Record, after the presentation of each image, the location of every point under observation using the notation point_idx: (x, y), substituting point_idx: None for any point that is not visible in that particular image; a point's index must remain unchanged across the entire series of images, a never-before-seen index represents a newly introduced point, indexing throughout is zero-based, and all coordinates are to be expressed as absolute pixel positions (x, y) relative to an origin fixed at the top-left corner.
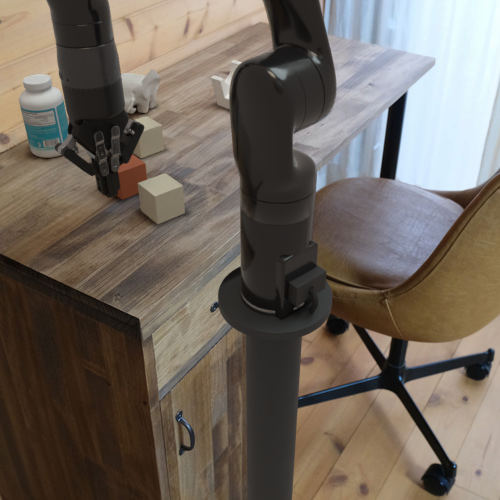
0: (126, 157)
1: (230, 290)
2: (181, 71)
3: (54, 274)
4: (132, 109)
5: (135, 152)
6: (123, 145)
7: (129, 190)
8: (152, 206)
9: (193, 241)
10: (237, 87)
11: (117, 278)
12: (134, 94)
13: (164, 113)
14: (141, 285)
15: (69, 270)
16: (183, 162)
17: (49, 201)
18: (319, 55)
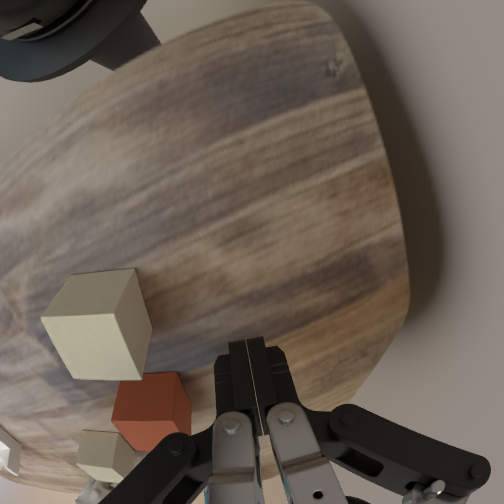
0: (172, 455)
1: (106, 11)
2: (62, 487)
3: (393, 215)
4: (114, 486)
5: (123, 443)
6: (167, 495)
7: (157, 383)
8: (129, 305)
9: (86, 163)
10: None
11: (307, 122)
12: None
13: None
14: (272, 67)
15: (370, 210)
16: (57, 398)
17: None
18: None
